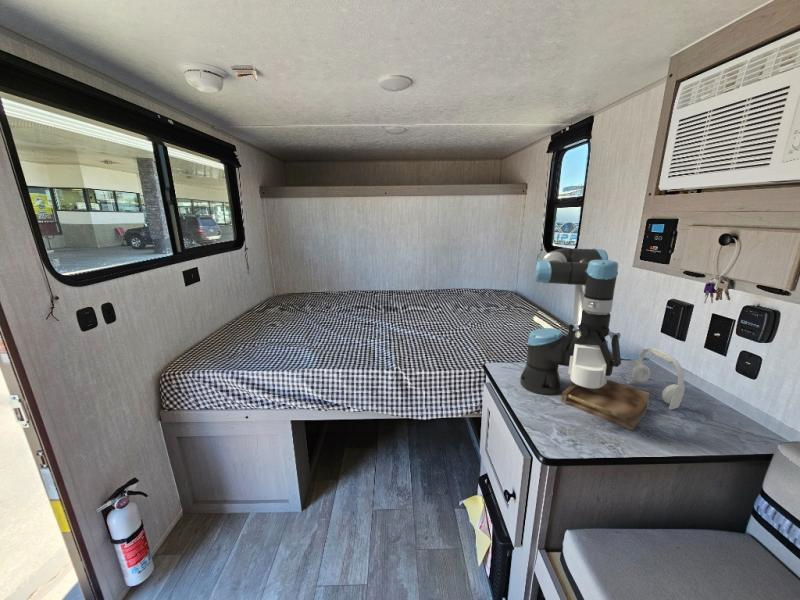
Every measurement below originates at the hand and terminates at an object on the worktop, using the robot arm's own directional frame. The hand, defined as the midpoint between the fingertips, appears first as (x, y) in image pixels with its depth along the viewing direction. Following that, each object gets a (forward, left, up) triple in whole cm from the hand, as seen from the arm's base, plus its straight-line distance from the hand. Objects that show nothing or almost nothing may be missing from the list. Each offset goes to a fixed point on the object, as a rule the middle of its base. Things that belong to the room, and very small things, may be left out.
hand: (586, 378), depth 101 cm
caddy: (+2, +14, -15) cm, 21 cm away
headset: (+12, +36, -16) cm, 41 cm away
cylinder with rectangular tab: (0, 0, -1) cm, 1 cm away
